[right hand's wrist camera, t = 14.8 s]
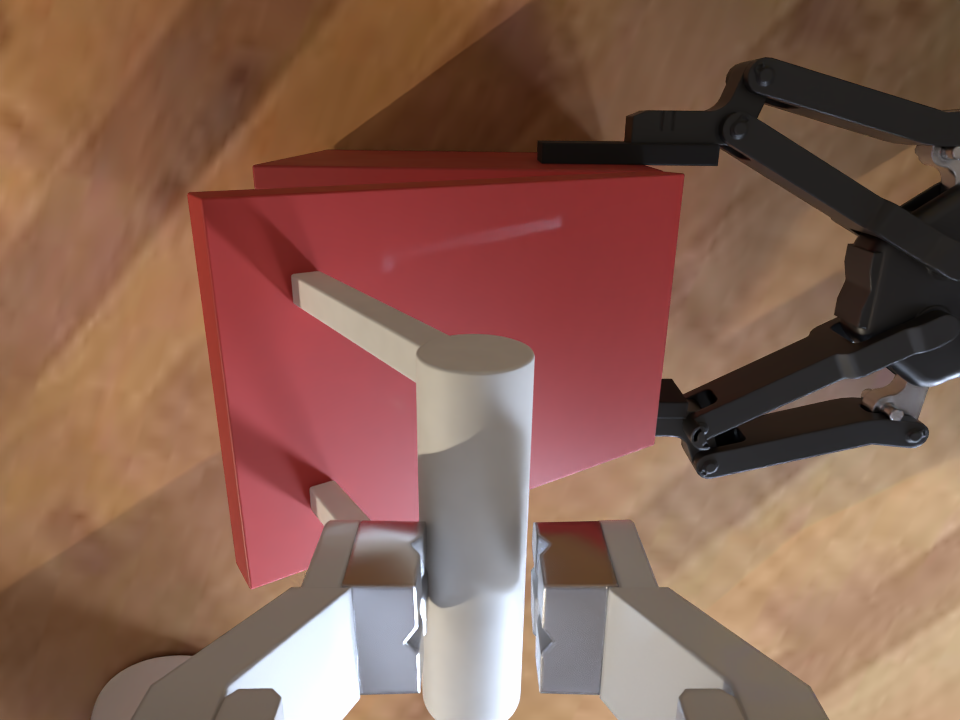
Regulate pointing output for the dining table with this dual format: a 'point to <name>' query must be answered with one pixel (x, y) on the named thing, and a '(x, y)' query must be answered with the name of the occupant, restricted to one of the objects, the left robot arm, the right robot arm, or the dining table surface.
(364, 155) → the chest
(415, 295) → the lid
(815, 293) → the dining table surface
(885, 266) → the left robot arm
